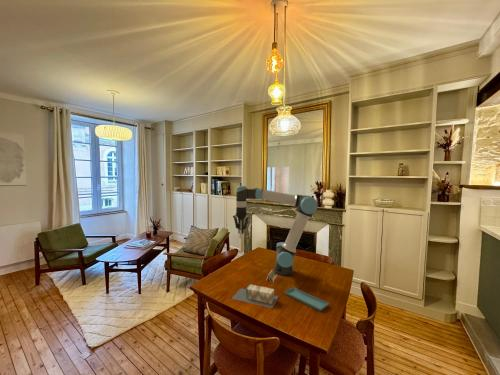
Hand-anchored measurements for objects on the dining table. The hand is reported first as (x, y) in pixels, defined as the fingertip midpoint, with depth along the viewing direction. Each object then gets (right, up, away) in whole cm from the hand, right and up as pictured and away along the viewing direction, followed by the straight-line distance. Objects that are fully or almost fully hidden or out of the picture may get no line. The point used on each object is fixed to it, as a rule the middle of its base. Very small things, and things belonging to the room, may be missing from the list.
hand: (241, 238), depth 167 cm
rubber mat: (+10, -31, -29) cm, 43 cm away
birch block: (+5, -27, -27) cm, 39 cm away
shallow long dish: (+41, -32, -30) cm, 60 cm away
